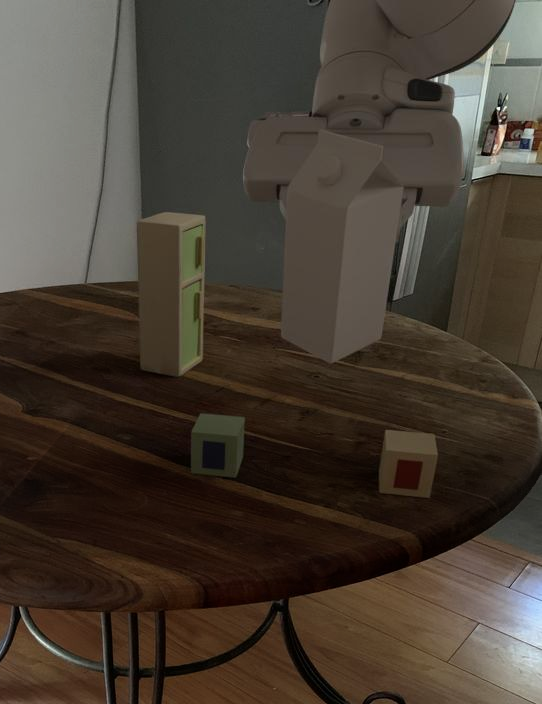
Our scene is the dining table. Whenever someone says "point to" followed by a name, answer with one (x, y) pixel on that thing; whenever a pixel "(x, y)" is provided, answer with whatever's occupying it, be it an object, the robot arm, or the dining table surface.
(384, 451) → the cream letter block
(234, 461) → the sage letter block
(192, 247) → the toy refrigerator
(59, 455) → the dining table surface
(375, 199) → the milk carton
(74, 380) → the dining table surface
